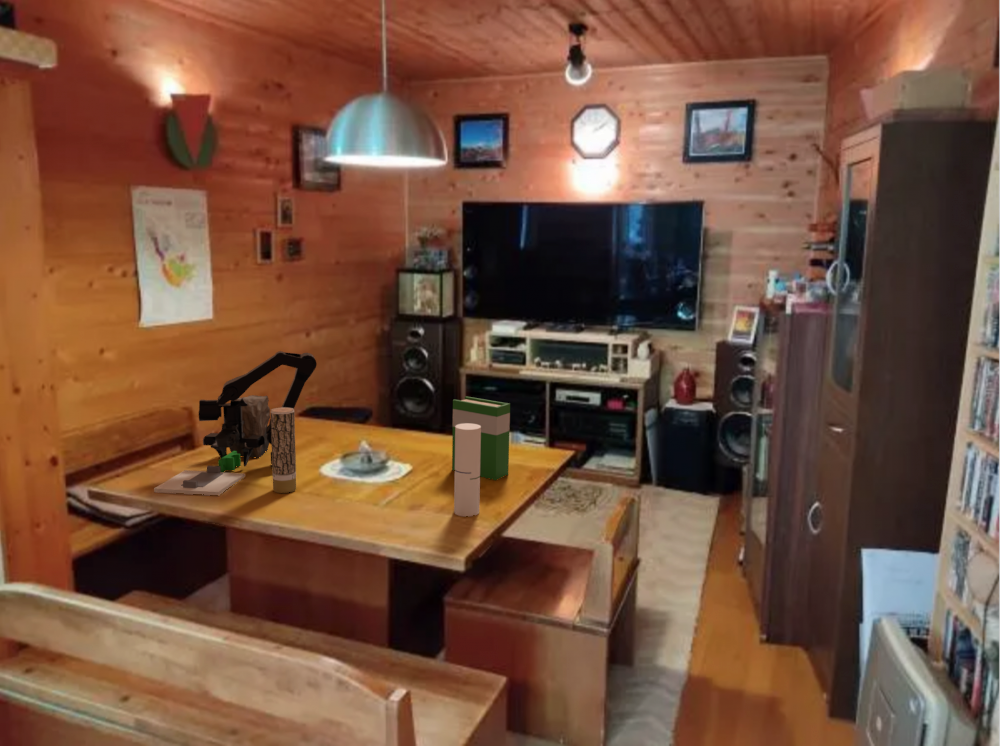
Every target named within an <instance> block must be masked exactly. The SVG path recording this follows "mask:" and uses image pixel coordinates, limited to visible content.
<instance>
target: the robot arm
mask: <svg viewBox="0 0 1000 746" xmlns="http://www.w3.org/2000/svg"><path fill="white" fill-rule="evenodd" d="M317 365H318V364H317V359H316V358H315V356H314V355H313V354H312V353H310V352H303V353H295V352H285V351H281V350H280V351H277V352H275V353H274V355H272V356H270V357H269V358H267V359H265V361H263V362H261V363H260V364H258V365H257V366H255V367H254V368H253V369H251V370H249V371H248V372H247V373H244V374H242V375H238V376H237V377H234V378H232V379H229V380H227V381H226V382H225V383H224V384H223V387H222V391H221V393H220V395H218V396H217V399H199V401H198V403H199V405H198V421H199V422H207V421H208V422H209V421H210V422H211V421H219V419H220V418H222V413H223V423H221V431H219V432H210V433H209V434H206V435H204V437H203V438H202V445H203V446H209V447H210V449H211V448H212V449H214V450H215V451H216V452H217V454H218V456H219V459H221V458H223V457H224V456H226V455H228V454H227V453H228V452H227V448H229V447H231V446H232V445H233V443H243V444H245V447H243V448H242V450H243V452H244V457H242V459H243V460H242V461H243V467H247V465H248V463H249V459H250V458H249V457H250V455H251V453H252V451H253V449H254V448H258V447H260V446H261V445H263V444H265V439H264V437H263V436H262V435H252V436H250V437H249V438H243V436H245V433H243V424H244V421H242V406H247V405H248V402H247V401H245V400H244V399H243V397H241V396H243V394H244V393H246V392H247V390H249V388H251V387H252V385H254V384H255V383H256V382H258V381H260V380H261V379H263V378H264V377H266V376H267V375H269V374H271V373H272V372H273V371H275V370H276V369H278V368H279V367H281V366H287V367H290V368H295V372H294V376H293V379H292V381H291V384H290V387H289V389H288V392H287V393H286V396H285V398H284V400H283V403H282V406H281V407H280V408H282V407H287V408H293V409H294V410H295V407H296V405H297V402H298V401H299V400H298V399H299V398H300V396H301V394H302V390H303V389H304V386H305V385H306V384H305V383H306V382H307V381H308V380H309V379H310V377H311V376H312V374H313V373H314V371H315V370H316V368H317ZM238 398H241V399H240V400H236V399H238ZM234 400H236V401H234ZM222 408H223V409H222ZM222 411H223V412H222ZM266 434H267V440H268V442H269V445H271V446H272V440H271V418H270V419H269V422H268V427H267V428H266ZM229 449H230V448H229ZM269 467H270V468H272V451H271V452H270V466H269Z"/></svg>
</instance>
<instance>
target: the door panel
mask: <svg viewBox="0 0 1000 746" xmlns="http://www.w3.org/2000/svg"><path fill="white" fill-rule="evenodd" d="M244 477H245V478H246V473H242V472H241V473H240V472H226V471H225V472H221V467H220V466H218V465H207V466H206V470H205V471H204V470H188V469H185V470H183V471H180V472H179V473H178V474H176V475H174V476H172V477H171V478H169V479H167V480H166V481H164V482H163V483H161V484H159V485H157V486H156V487H154V488H153V492H154V493H159V494H160V493H161V494H176V493H184V494H183V495H193V494H202V495H201V496H210V495H219V496H221V495H222V494H223V492H224V491H225V490H226V489H228V488H229V487H230V486H232V485H233V484H235V483H236V482H238V481H239V480H240V481H242V480H243V479H245V478H244ZM242 478H243V479H242ZM241 479H242V480H241ZM240 481H239V482H240ZM239 482H238V483H239ZM236 484H237V483H236ZM236 484H235V485H236ZM233 486H234V485H233ZM233 486H232V487H233ZM229 489H230V488H229ZM229 489H228V490H229ZM226 491H227V490H226ZM226 491H225V492H226ZM225 492H224V493H225ZM221 493H222V494H221ZM203 494H204V495H203ZM220 494H221V495H220Z"/></svg>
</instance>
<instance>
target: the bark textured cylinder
mask: <svg viewBox="0 0 1000 746" xmlns="http://www.w3.org/2000/svg"><path fill="white" fill-rule="evenodd" d="M281 407H282V406H281ZM281 407H275V408H272V409H270V419H271V440H272V445H271V452H272V464H271V465H272V467H271V468H272V490H273V492H275V493H277V494H290V493H293V492H294V491H296V490H297V464H296V462H297V459H296V458H297V457H296V454H297V453H296V423H295V421H296V419H295V408H294V409H293V408H287V407H282V408H281ZM289 492H290V493H289Z"/></svg>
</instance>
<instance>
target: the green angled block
mask: <svg viewBox="0 0 1000 746" xmlns="http://www.w3.org/2000/svg"><path fill="white" fill-rule="evenodd" d="M241 460H242V459H241V457H240V454H237V451H233V452H231V451H230V453H228V454H227V455H226V456H224V457H223V458H219V459H218V460H217V466H220V467H221V472H224V471H225V470H235V471H236V469H235V468H239V467H238V466H242V465H241V464H242V461H241ZM236 466H237V467H236ZM225 472H226V471H225Z"/></svg>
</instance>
